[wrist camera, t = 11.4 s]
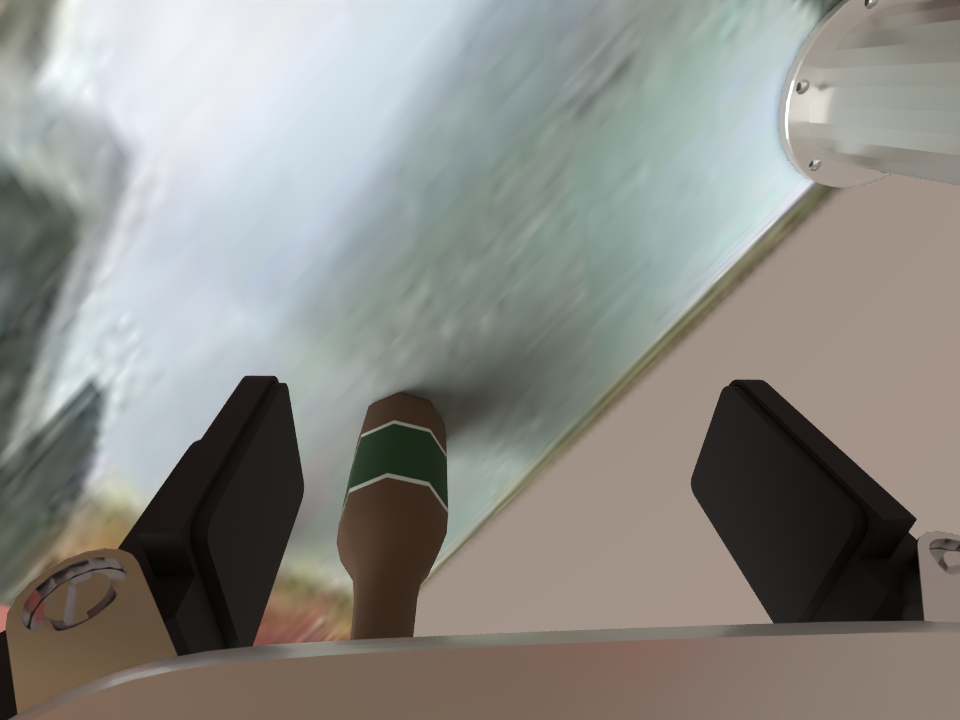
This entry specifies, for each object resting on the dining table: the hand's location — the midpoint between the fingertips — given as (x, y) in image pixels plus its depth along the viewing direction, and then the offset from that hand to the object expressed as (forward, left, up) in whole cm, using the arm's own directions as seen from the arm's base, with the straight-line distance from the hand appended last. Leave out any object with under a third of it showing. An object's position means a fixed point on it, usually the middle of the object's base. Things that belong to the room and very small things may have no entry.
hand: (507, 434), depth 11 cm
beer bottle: (+5, +21, -28) cm, 35 cm away
